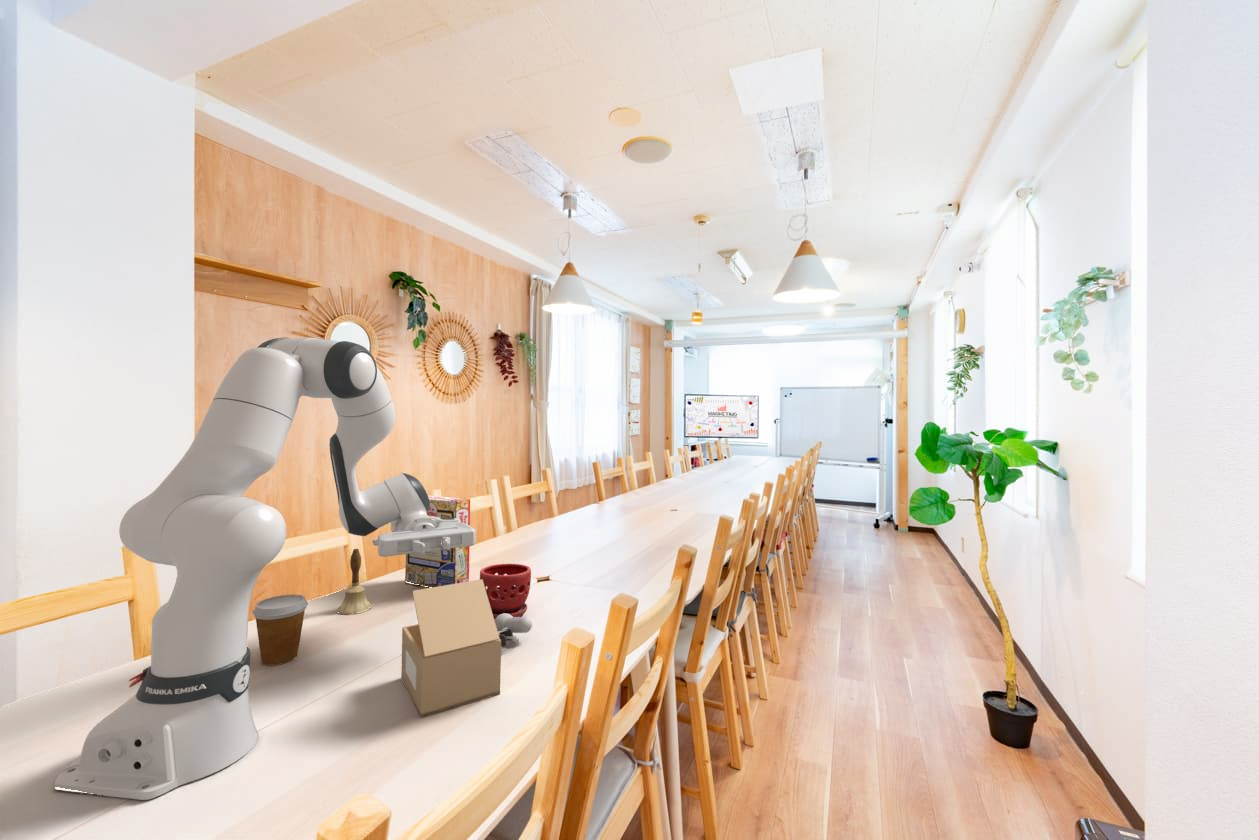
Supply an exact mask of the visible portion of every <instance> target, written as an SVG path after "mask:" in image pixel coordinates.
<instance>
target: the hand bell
mask: <svg viewBox="0 0 1259 840" xmlns="http://www.w3.org/2000/svg"><path fill="white" fill-rule="evenodd" d="M351 553H352V554H351V555H350V559H349V560H350V563H349V564H350V569H351V574H352V576H351V586H350V587H347V588H346V589H345V592H344V594H345V595H344V597H343V601H342V603H341V604H340V605H339V606H338V607H337V609H336V613H337V612H339V613H341V614H340V615H343V614H352V613H357V612H361V611H364V610H366V609H368V608H369V607H371V605H372V603H371V602H369V601H368V598H367V596H366V592H365V591H366V589H365V587H364V586H362V585H360V569H361V565H362V556H361V553H360V549H359V548H354V549H352V552H351ZM339 613H338V614H339ZM352 615H353V614H352Z"/></svg>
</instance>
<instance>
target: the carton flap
mask: <svg viewBox="0 0 1259 840" xmlns="http://www.w3.org/2000/svg"><path fill="white" fill-rule="evenodd" d="M412 597H413V602H414V607H415V613H416V619H417V624H419V630H420V635H421V641H422V646H423V651H424V657H429V656H434V655H438V654H442V653H446V652H450V651H454V650H458V649H463V648H467V647H471V646H475V645H479V644H483V643H487V642H492V641H496V640H499V639H500V638H499V635H498V631H497V628H496V624H495V620H494V617H493V614H492V610H491V607H490V604H489V600H488V597H487V593H486V590H485V586H484V583H483V580H482V579H481V580H480V579H477V580H475V579H474V580H469V582H463V583H457V584H451V585H445V586H439V587H433V588H422V589H414V590H412Z"/></svg>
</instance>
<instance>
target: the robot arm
mask: <svg viewBox="0 0 1259 840" xmlns="http://www.w3.org/2000/svg"><path fill="white" fill-rule="evenodd" d="M302 396H304V397H309V398H313V399H331V402H332V405H333V408H334V410H335V413H336V415H337V426H336V430H335V433H334V434H332V436H331V437H330V438H329V454H330V461H331V468H332V472H333V473H332V474H333V478H334V484H335V488H336V489H335V490H336V493H337V495H336V496H337V500H338V501H337V503H338V515H339V516H338V517H339V520H340V522H341V525H342V526H343V528H344V529H345V531H346V532H347V533H349V534H350V535H353V536H360V537H367V536H369V535H370V534H372V533H374V532H375V531H377V530H379V529H380V528H381V527H382V528H383V527H384V526H386V525H389V524H390V531H391V532H384V533H380V534H379V535H378V537H377V539H376V538H375V539H372V545H373V546H376V547H377V554H378V556H379V557H384V558H385V557H395V556H401V555H406V554H413V555H417V556H421V555H426V554H429V553H431V552H434V551H437V550H442V551H446V550H449V549H450V548H458V547H466V546H470V547H472V546H474V545H475V544H476V541H477V540H476V535H477V534H476V529H475V528H474V527H473V526H471V525H470V526H469V525H467V524H465V523H461V522H460V519H458V518H439V517H434V516H428V515H427V513H428V511H429V506H430V502H429V498H428V493H427V490H426V489H425V487H424V485H423V484H422V483H421V482H420V480H418V479H417V477H415V476H413V475H411V474H408V473H404V472H401V473H400V474H397V475H395V476H393V477H390V478H388V479H387V478H386V479H385V480H384V481H381V482H379V483H376V484H374V485H371V486H370V487H367V488H365V489H363V490H359V484H358V479H357V473H356V471H357V470H356V469H357V465H358V463H359V462H360V461H361V460H362V458H363V457H364V456H365V455H366V454H368V452H369V451H371V450H372V449H373V448H375V447H376V446H377V445H378V444H380V443H381V442H383V441H384V439H387V437H388V436H389V434H390V433H391V432H392V430H393V429H394V426H395V425H396V424H395V423H396V421H397V413H396V407H395V404H394V401H393V398H392V395H391V392H390V389H389V386H388V384H387V382H386V380H385V378H384V376H383V374H382V372H381V371H380V368H379V367H378V366H377V363H376V360H375V358H374V356H373V355H372V353H371V352H370V351H369V350H368V349H367V348H366V347H365V346H363V345H360V344H359V343H355V342H353V341H346V340H342V341H337V340H333V339H332V340H331V339H322V338H319V337H290V338H289V337H286V336H285V337H283V336H282V337H277V338H271V339H269V340H266V341H263V342H262V343H260V344H259V345H258V346H257V347H253V348H250V349H247V350H245V351H244V352H243V353H241V354H240V356H239V357H238V358H237V359H236V361H235V362H234V363H233V364H232V366H231V367H230V368H229V370H228V371H227V373H226V375H225V376H224V378H223V379H222V381H221V383H220V385H219V386H218V388H217V390H216V392H215V395H213V398H212V401H211V403H210V405H209V407H208V409H207V412H206V414H205V416H204V418H203V420H202V422H201V425H200V427H199V429H198V431H197V433H196V435H195V437H194V439H193V441H192V443H191V444H190V446H189V447H188V450H186V452H185V454H183V456H182V458H181V459H180V461H179V462H178V463H177V464H176V465H175V467H174V468H173V469H172V470H171V471H170V473H169V474H168V475H167V476H166V477H165V478H164V479H163V481H162V482H161V483H160V484H159V485H158V486H157V488H155V489H154V490H153V491H152V492H151V493H149V494H148V495H147V496H145V498H144V497H143V498H142V499H141V500H139V501H137V502H136V503H135V504H133V505H132V506H131V507H129V509H128V510H127V511H126V512H125V513H124V515H123V517H122V518H121V521H120V523H119V524H120V525H119V538H120V540H121V543H122V544H123V546H124V547H125V548H126V549H128V551H130V552H131V553H133V554H135V555H136V556H138V557H140V558H142V559H144V560H146V561H147V562H148V561H149V563H154V564H159V565H160V564H161V565H166V566H172V567H175V568H176V570H177V571H176V579H175V584H174V585H173V586H174V587H173V590H172V592H171V594H170V597H169V599H168V600H167V602H166V603H164V604H163V605H161V606H160V607H159V608H158V609H157V611H155V613H154V614H153V617H152V621H151V643H150V644H151V646H150V647H151V649H150V651H151V652H150V655H151V656H150V666H147V667H146V668H144V669H143V670H142V672H140V673H139V674H137V675H134V676H133V677H132V678H130V679H128V682H131V683H130V684H129V685H128V688H131V687H134V686H135V685H137V684H139V683H140V685H139V687H138V690H137V691H136V694H134V695H133V696H131V698H129V699H128V700H126V701H125V702H124V703H122V704H121V705H120V706H119V707H117V708H115V710H113V711H112V712H111V713H110V714H108V715H107V716H105V717H104V718H102V720H100V721H99V722H98V723H96V725H94V727H93V728H92V729H91V730H90V731H89V733H88V734H87V736H86V738H85V740H84V743H83V745H82V749H81V754H80V756H79V757H77V758H76V759H75V760H73V761H72V762H71V763H70V764H69V765H67V766H66V767H65V768H64V769H63V770H62V771H61V773H59V774H58V776H57V777H56V780H55V782H54V785H53V787H54V786H55V787H60V788H65V789H71V790H78V791H82V792H87V793H93V794H97V795H96V796H102V795H103V797H104V796H105V797H113V798H121V799H131V800H141V801H147V800H151V799H155V798H157V797H158V796H161V795H163V794H166V793H168V792H170V791H171V790H174V789H175V788H177V787H179V786H181V785H182V786H183V785H185V784H188V783H191V782H195V781H197V780H199V779H200V780H201V779H202V778H205V777H207V776H210V775H212V774H214V773H217V772H219V771H221V770H223V769H225V768H226V767H228V766H230V765H232V764H234V763H235V762H237V761H238V760H240V759H241V758H242V757H244V756H245V755H247V753H249V752H250V751H251V750H252V749H253V747H254V746H255V745H256V743H257V741H258V739H259V733H258V730H257V727H256V725H255V722H254V718H253V714H252V710H251V704H250V703H251V702H250V696H249V684H250V677H251V649H250V647H249V646H248V629H249V627H248V626H249V611H250V610H249V609H250V601H251V598H252V594H253V590H254V588H255V585H256V582H257V580H258V578H259V575H261V572H262V571H263V569H264V568H265V567H266V566H267V565H268V564H270V563H271V562H272V561H274V559H275V558H276V557H277V556H278V555H279V553H280V552H281V550H282V549H283V547H284V545H285V543H286V539H287V523H286V520H285V518H284V516H283V515H282V513H281V512H280V511H279V510H277V509H276V508H275V507H272V506H270V505H269V504H267V503H264V502H261V501H258V500H255V499H253V498H250V497H245V496H244V497H243V495H244V493H245V492H246V491H247V490H248V488H249V487H250V486H251V485H252V484H253V483H254V482H255V481H256V480H257V479H258V478H260V477H261V476H263V475H265V474H266V473H268V472H269V471H271V470H272V469H273V468H274V467H275V465H277V463H278V460H279V458H280V455H281V453H282V450H283V447H284V444H285V442H286V439H287V437H288V433H289V431H290V429H291V426H292V423H293V421H294V419H295V415H296V412H297V409H298V406H299V402H300V399H301V397H302ZM93 794H92V795H93Z"/></svg>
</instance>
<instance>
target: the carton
mask: <svg viewBox="0 0 1259 840" xmlns="http://www.w3.org/2000/svg"><path fill="white" fill-rule="evenodd" d="M401 633H402V634H401V638H402V639H401V675H400V676H401V677H400V678H401V681H402V682H403V684H404V686H405V688H406V690H407V693H408V695H409V697H410V698H411V701H412V703H413V705H414V707H415V709H416V711H417V713H418V715H419V717H420V719H423V718H426V717H429V716H433V715H436V714H439V713H442V712H445V711H449V710H452V709H455V708H458V707H462V706H466V705H467V704H472V703H475V702H478V701H481V700H485V699H488V698H491V697H494V696H497V695H498V696H499V695H500V694H501V670H502V669H501V666H502V664H501V663H502V661H501V660H502V647H501V640H500V639H499V640H496V641H492V642H487V643H483V644H479V645H475V646H471V647H467V648H463V649H458V650H454V651H450V652H446V653H442V654H438V655H434V656H429V657H424V651H423V646H422V641H421V635H420V630H419V624H418V623H416V624H411V625H407V626H402V629H401Z"/></svg>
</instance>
